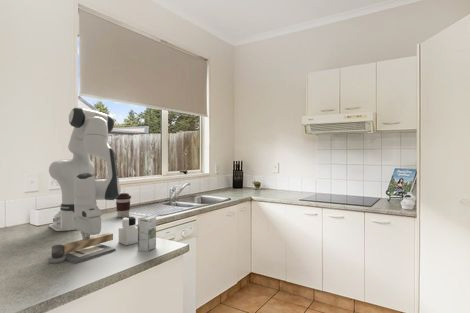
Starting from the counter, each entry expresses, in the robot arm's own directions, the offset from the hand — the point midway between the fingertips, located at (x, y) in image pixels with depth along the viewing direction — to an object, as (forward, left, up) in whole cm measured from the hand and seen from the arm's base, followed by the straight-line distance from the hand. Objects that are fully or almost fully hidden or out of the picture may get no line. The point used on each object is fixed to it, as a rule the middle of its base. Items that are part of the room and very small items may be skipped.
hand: (86, 241), depth 131 cm
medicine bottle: (+7, +17, -4) cm, 19 cm away
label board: (+4, -5, -4) cm, 8 cm away
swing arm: (+3, -3, -2) cm, 5 cm away
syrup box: (+22, +15, -4) cm, 27 cm away
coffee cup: (-43, +51, -4) cm, 67 cm away
